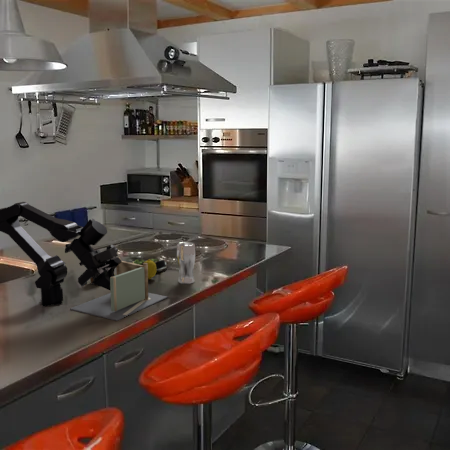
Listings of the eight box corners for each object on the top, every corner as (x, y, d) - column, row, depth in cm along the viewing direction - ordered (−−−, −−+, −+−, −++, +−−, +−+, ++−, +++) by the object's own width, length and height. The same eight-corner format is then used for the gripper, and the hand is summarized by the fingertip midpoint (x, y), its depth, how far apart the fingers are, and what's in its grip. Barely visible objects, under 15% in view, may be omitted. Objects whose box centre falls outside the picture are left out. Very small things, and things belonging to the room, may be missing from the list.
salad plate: (119, 276, 211) (119, 265, 210) (120, 265, 228) (120, 254, 228) (168, 274, 214) (168, 263, 213) (165, 263, 232) (165, 252, 231)
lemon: (149, 276, 210) (149, 257, 208) (159, 279, 206) (159, 259, 205) (139, 279, 206) (138, 259, 204) (149, 282, 202) (148, 261, 201)
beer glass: (174, 280, 204) (174, 242, 202) (191, 278, 207) (191, 241, 204) (180, 285, 198) (180, 246, 195) (198, 283, 201) (197, 244, 198)
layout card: (117, 320, 162) (117, 319, 162) (70, 309, 172) (70, 308, 172) (167, 297, 184) (167, 296, 184) (123, 288, 194) (123, 287, 194)
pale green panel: (141, 298, 180) (141, 266, 178) (145, 298, 179) (144, 267, 177) (110, 310, 168) (109, 277, 166) (114, 311, 167) (113, 278, 165)
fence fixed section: (149, 299, 181) (148, 263, 179) (146, 300, 180) (145, 264, 177) (119, 291, 190) (118, 257, 187) (116, 292, 188) (115, 257, 186)
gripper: (85, 244, 159) (118, 283, 158) (116, 233, 177) (146, 268, 176) (63, 266, 163) (96, 305, 162) (95, 253, 181) (125, 288, 179)
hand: (117, 290), depth 170 cm, fingers closed
